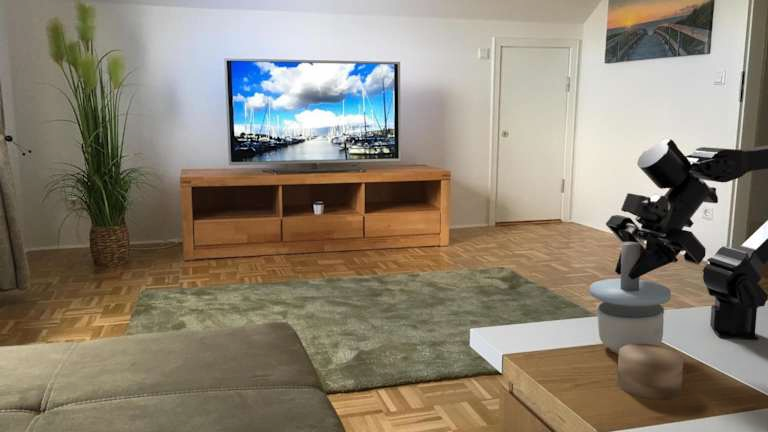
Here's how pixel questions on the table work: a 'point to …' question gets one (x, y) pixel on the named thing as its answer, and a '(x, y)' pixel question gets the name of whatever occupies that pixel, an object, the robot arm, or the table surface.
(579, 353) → the table surface
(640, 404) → the table surface
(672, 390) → the stone
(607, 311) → the teacup
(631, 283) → the lid
